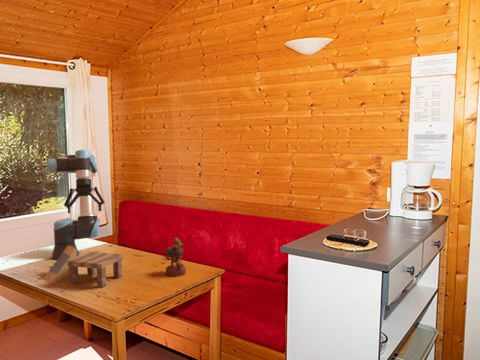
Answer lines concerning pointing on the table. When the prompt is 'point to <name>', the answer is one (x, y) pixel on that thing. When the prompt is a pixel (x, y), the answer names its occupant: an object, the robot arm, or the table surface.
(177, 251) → the small figurine
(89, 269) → the stool
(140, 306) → the table surface
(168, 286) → the table surface
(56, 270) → the sandwich container
